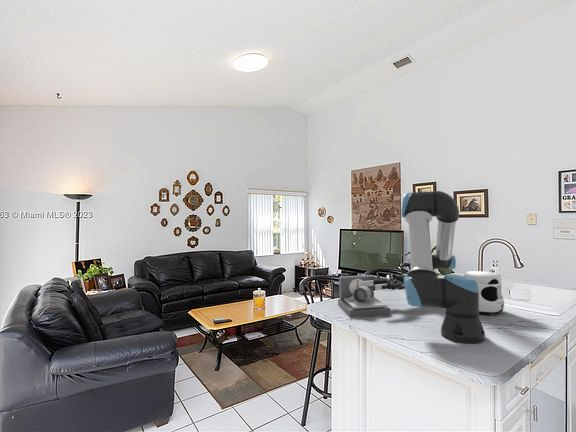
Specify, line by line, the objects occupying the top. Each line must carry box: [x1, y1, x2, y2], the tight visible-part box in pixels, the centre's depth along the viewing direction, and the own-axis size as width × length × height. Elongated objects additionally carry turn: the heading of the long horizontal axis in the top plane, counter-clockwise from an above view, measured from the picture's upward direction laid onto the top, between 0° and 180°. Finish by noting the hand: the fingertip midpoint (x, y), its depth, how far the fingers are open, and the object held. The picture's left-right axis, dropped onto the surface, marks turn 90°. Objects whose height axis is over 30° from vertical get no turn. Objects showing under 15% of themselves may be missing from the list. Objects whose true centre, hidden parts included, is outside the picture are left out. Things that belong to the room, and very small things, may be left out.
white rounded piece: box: [463, 270, 505, 315], centre depth 158 cm, size 17×17×18 cm
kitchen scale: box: [337, 274, 391, 318], centre depth 166 cm, size 22×20×15 cm
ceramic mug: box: [349, 286, 371, 303], centre depth 165 cm, size 11×8×8 cm
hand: (368, 285), depth 164 cm, fingers open, 10 cm apart
